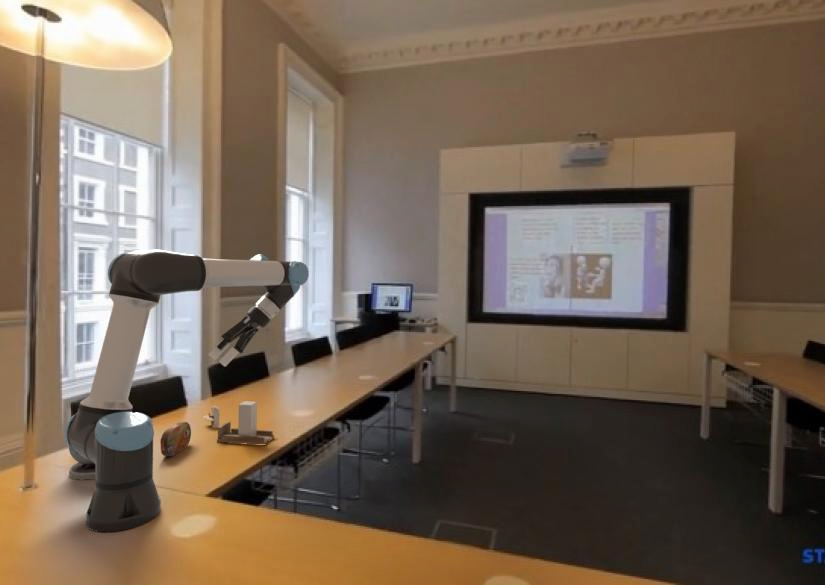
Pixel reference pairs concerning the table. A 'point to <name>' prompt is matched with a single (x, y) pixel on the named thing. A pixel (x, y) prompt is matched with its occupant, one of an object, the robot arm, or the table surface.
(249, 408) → the clay bar
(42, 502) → the table surface
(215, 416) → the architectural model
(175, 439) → the tin
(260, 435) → the rack
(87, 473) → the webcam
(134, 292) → the robot arm
